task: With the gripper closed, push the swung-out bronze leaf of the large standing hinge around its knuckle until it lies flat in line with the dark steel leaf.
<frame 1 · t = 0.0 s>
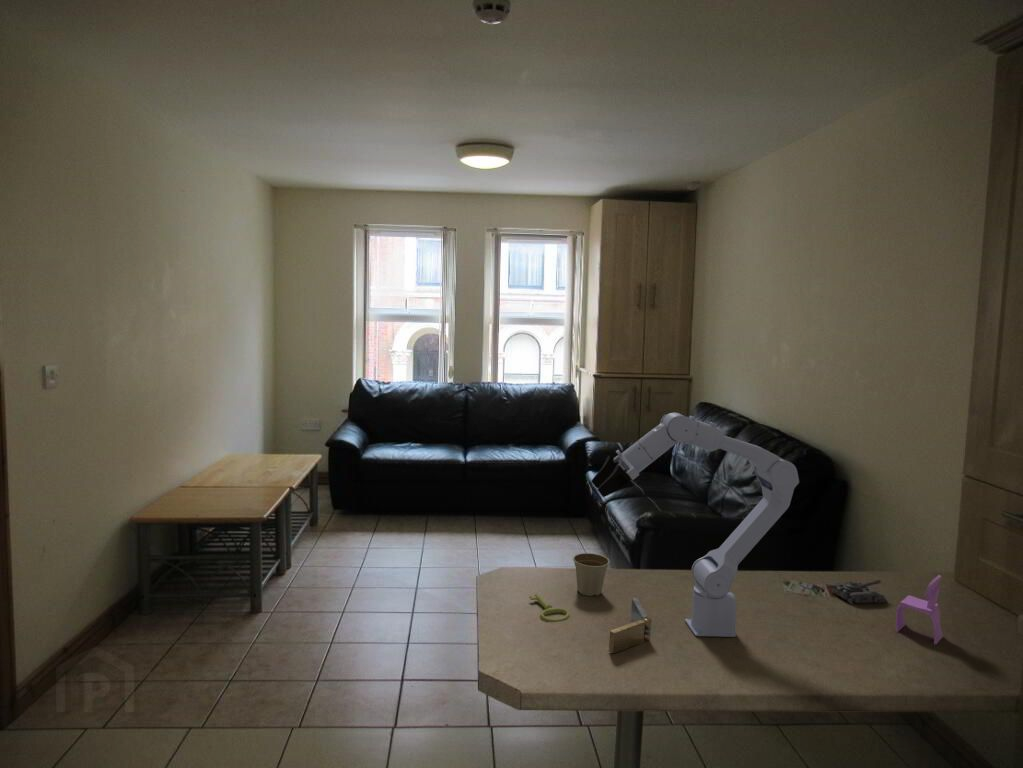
hand: (596, 489, 153), 32 cm above the counter, fingers open, 7 cm apart
key: (547, 613, 163), on the counter
hinge leaf: (630, 634, 147), point 3 cm above the counter, hinge at -55.0°
chair: (918, 634, 161), on the counter
flower pot: (589, 592, 176), on the counter
hinge fixed leaf: (645, 640, 151), on the counter
tank toy: (858, 600, 180), on the counter
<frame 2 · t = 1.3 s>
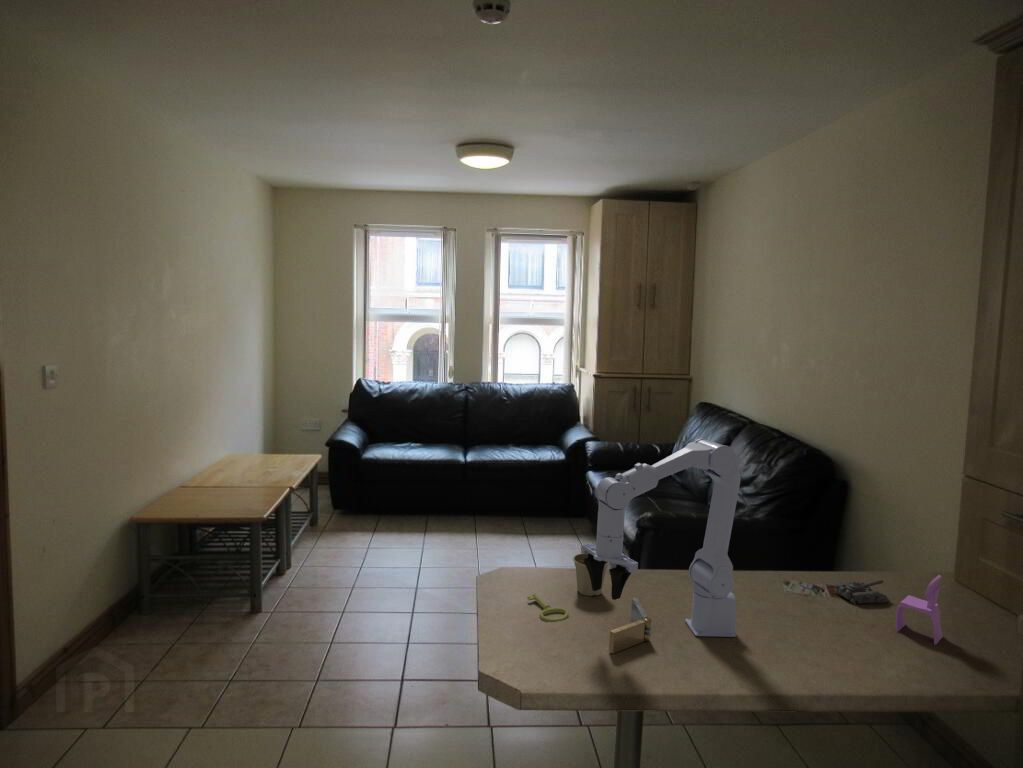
hand: (606, 594, 149), 10 cm above the counter, fingers open, 5 cm apart
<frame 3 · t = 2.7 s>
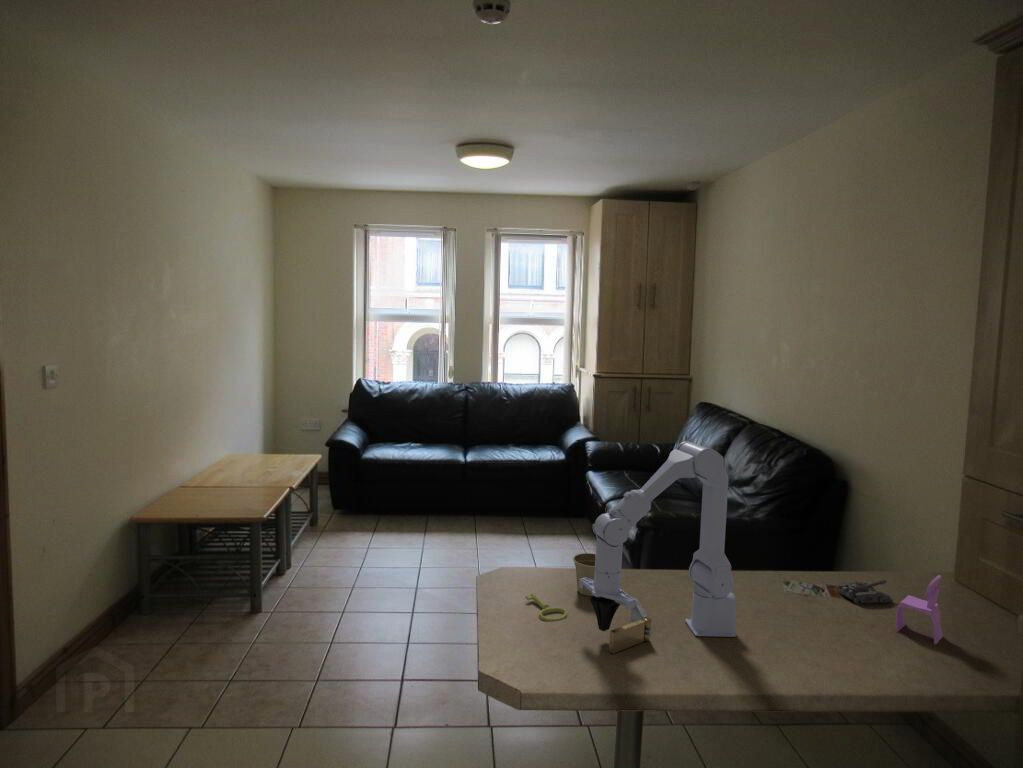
hand: (604, 629, 150), 2 cm above the counter, fingers closed
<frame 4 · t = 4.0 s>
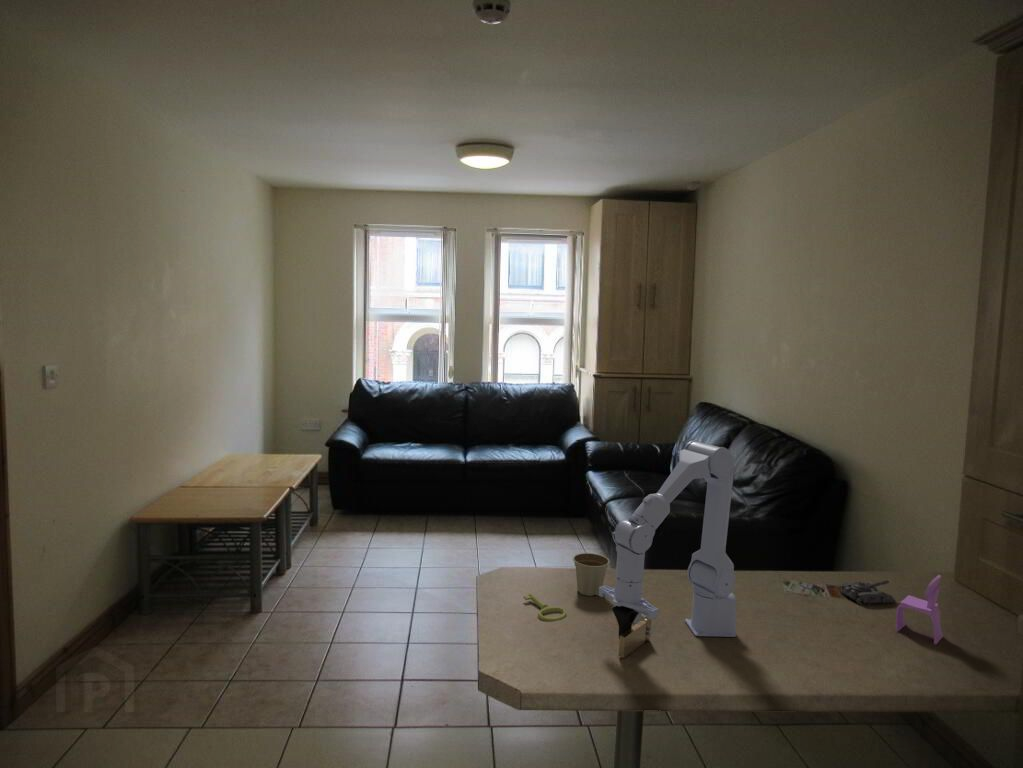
hand: (624, 639, 145), 2 cm above the counter, fingers closed, pressing on hinge leaf
hinge leaf: (635, 636, 146), point 3 cm above the counter, hinge at -41.2°, touching gripper
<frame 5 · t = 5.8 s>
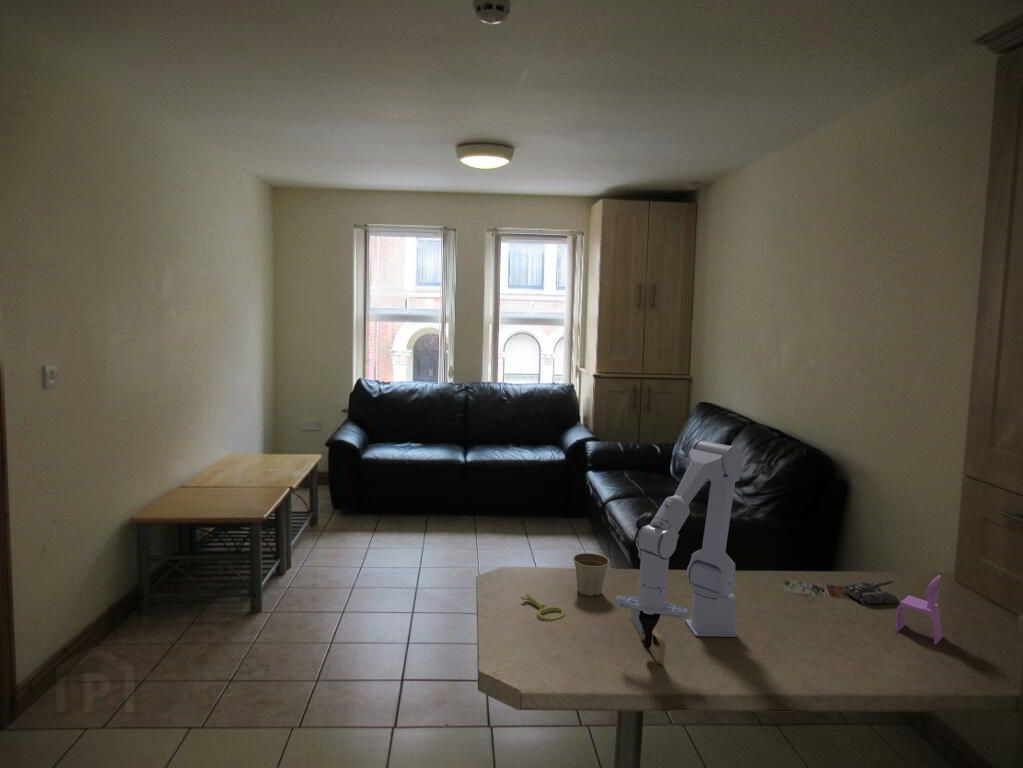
hand: (648, 645, 143), 2 cm above the counter, fingers closed, pressing on hinge leaf
hinge leaf: (652, 639, 145), point 3 cm above the counter, hinge at 2.2°, touching gripper
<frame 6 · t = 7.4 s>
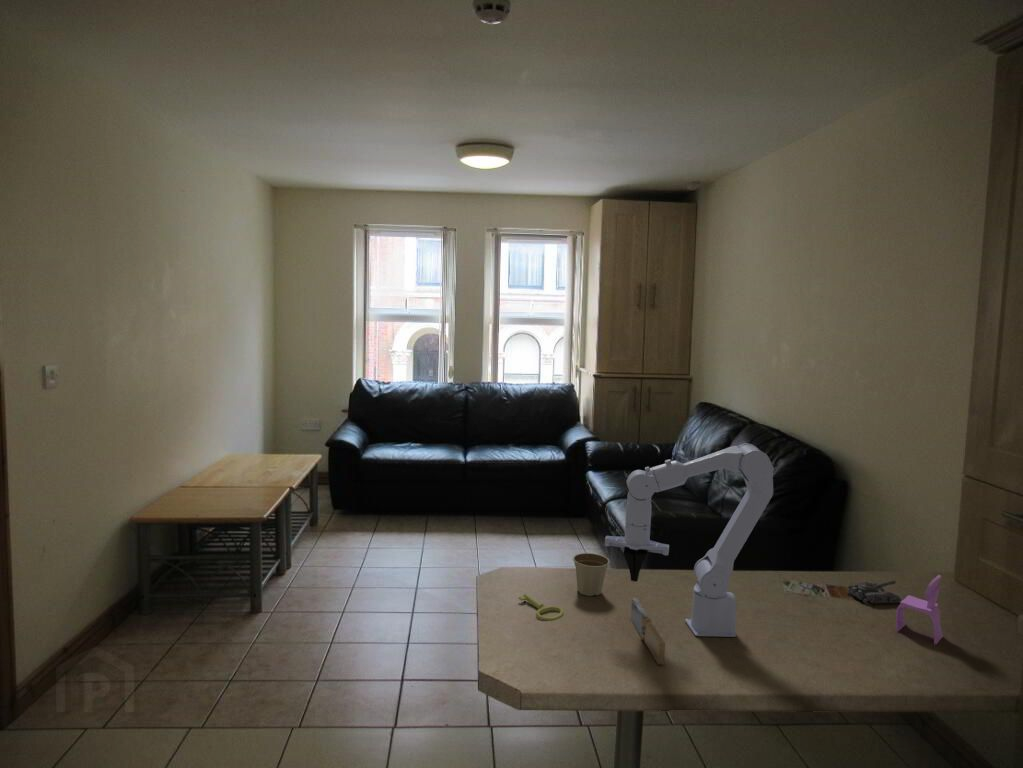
hand: (634, 579, 158), 10 cm above the counter, fingers closed
hinge leaf: (652, 639, 145), point 3 cm above the counter, hinge at 2.2°
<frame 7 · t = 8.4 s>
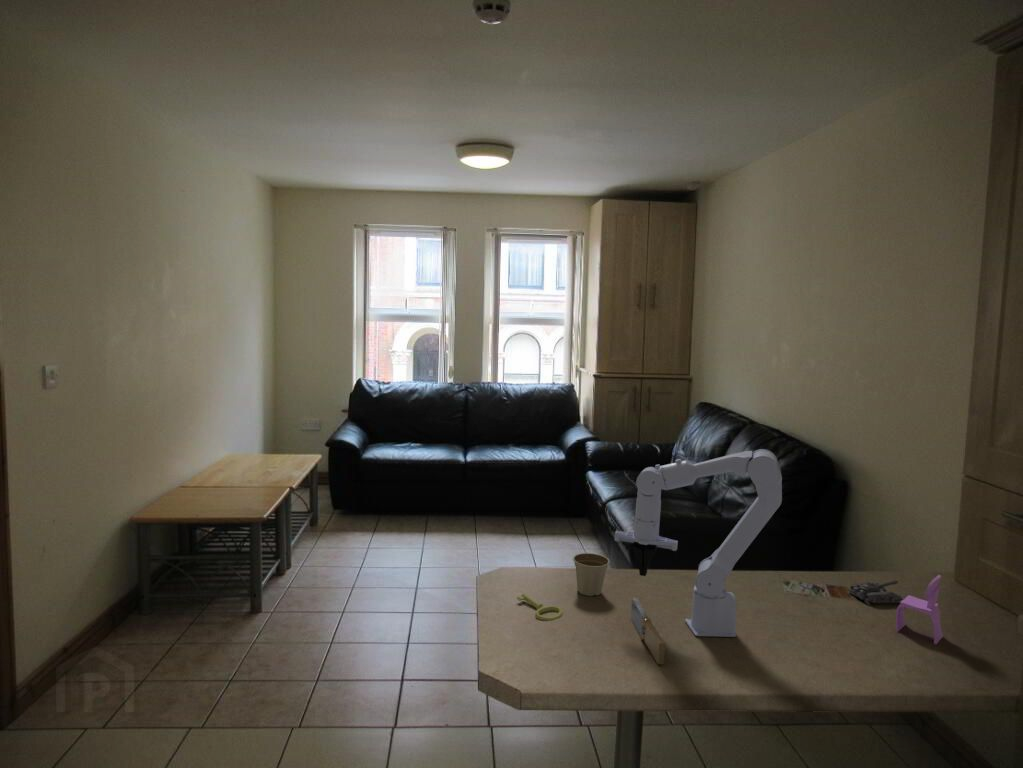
hand: (643, 574, 162), 10 cm above the counter, fingers closed
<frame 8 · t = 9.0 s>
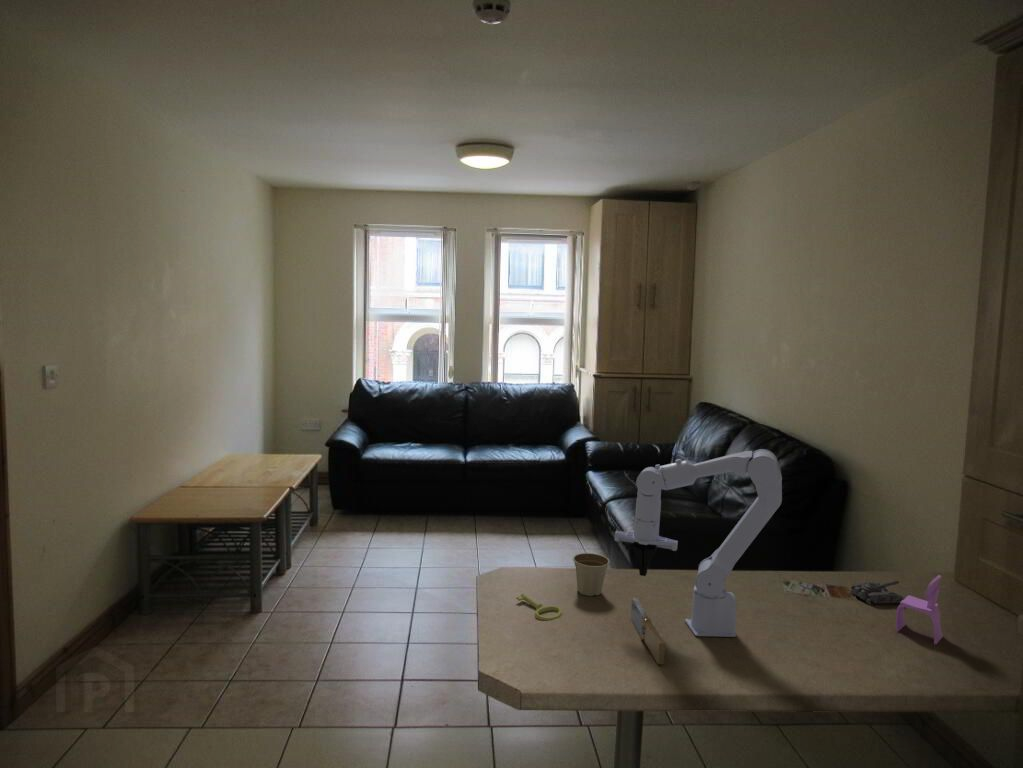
hand: (643, 574, 162), 10 cm above the counter, fingers closed
at the end: hinge leaf at +2° (first picture: -55°); key moved 2.4 cm from its start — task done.
